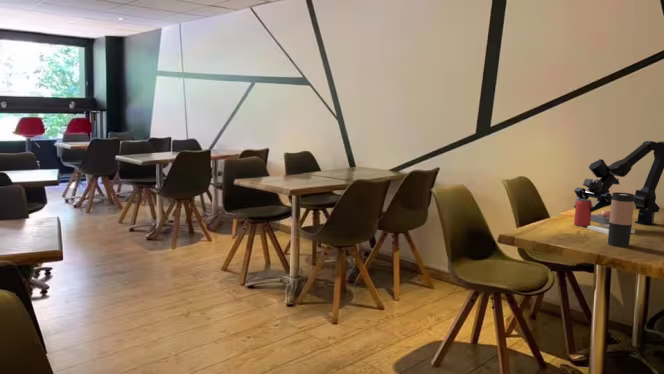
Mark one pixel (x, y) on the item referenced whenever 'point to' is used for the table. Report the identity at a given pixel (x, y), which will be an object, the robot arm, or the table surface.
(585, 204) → the beer can
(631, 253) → the table surface
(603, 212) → the button
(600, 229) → the paper card
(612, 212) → the travel mug
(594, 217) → the grey square frame
